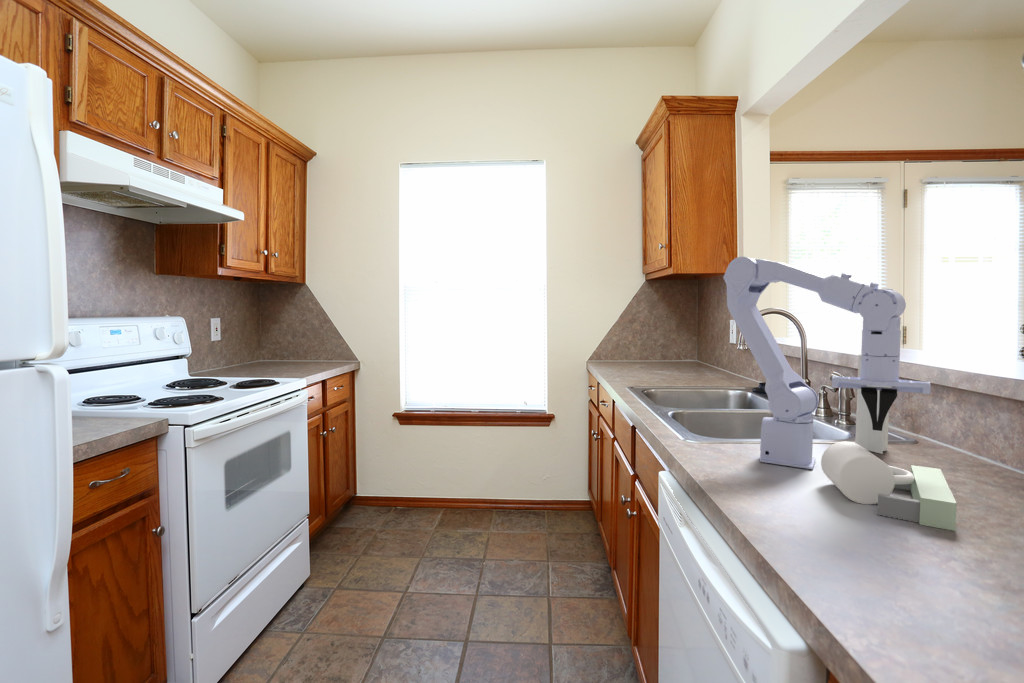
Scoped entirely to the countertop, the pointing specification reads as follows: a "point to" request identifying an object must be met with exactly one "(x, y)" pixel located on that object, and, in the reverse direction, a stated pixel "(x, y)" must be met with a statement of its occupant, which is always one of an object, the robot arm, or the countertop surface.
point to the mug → (861, 472)
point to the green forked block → (923, 500)
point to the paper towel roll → (869, 423)
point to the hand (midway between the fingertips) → (877, 429)
